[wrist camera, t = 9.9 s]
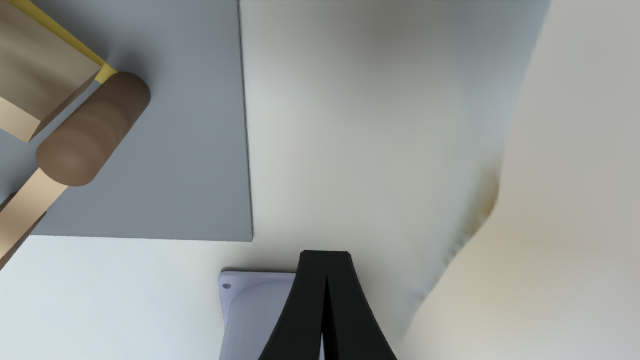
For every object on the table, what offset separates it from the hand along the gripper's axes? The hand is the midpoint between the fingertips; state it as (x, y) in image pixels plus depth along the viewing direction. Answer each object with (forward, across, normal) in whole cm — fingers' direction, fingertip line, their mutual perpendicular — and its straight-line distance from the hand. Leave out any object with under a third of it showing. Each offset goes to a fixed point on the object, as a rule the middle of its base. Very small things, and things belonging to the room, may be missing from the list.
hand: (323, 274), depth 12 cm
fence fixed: (+10, +13, +3) cm, 16 cm away
